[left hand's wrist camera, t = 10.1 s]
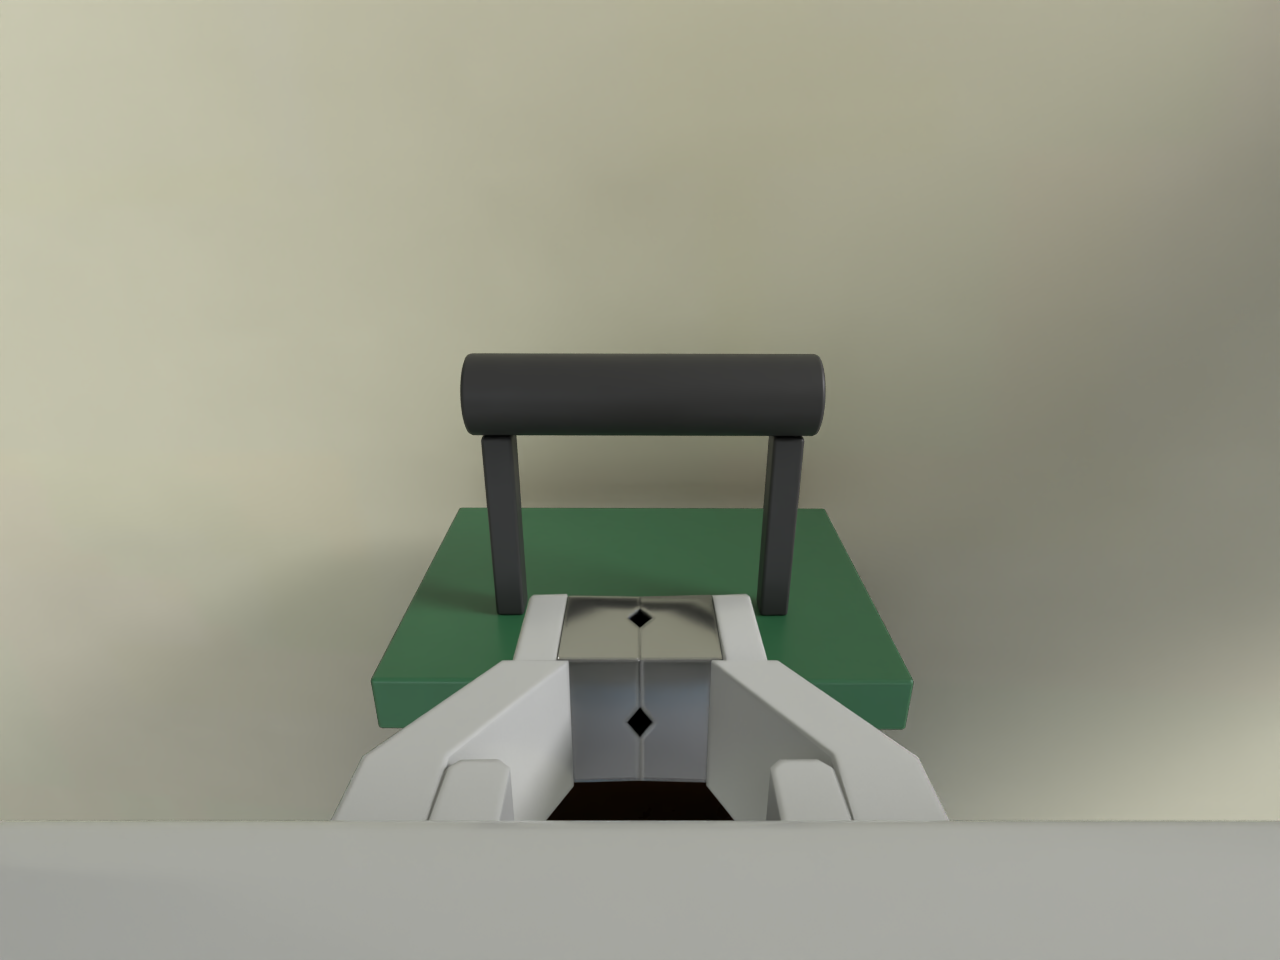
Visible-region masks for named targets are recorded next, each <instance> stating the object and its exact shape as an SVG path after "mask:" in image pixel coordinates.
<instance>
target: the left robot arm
mask: <svg viewBox="0 0 1280 960" xmlns="http://www.w3.org/2000/svg"><path fill="white" fill-rule="evenodd" d="M606 781H673V782H706V786H707V787H708V788H709V789H710V791H711V792H712V793H713V794H714V796H715V797H716V798H717V799H718V801H719V802H720V803H721V804H722V806H723V807H724V808H725V809H726V811H727V812H728V813H729V814H730V816H731V817H732V818H733V819H734V821H546V820H547V819H548V817H549V816H550V815H551V814H552V812H553V811H554V810H555V809H556V807H557V806H558V805H559V804H560V803H561V801H562V800H563V799H564V798H565V796H566V795H567V794H568V793H569V791H570V790H571V789H572V788H573V786H574V782H606ZM0 960H1280V821H949V819H948V817H947V815H946V813H945V811H944V809H943V806H942V804H941V802H940V800H939V798H938V796H937V794H936V792H935V790H934V788H933V786H932V784H931V782H930V780H929V778H928V776H927V774H926V772H925V770H924V768H923V766H922V764H921V761H920V759H919V757H917V756H916V755H914V754H913V753H911V752H910V751H909V750H907V749H906V748H904V747H903V746H901V745H900V744H898V743H897V742H895V741H894V740H893V739H891V738H890V737H888V736H887V735H885V734H884V733H882V732H881V731H879V730H878V729H877V728H875V727H874V726H872V725H871V724H869V723H868V722H866V721H865V720H864V719H862V718H861V717H859V716H858V715H856V714H855V713H853V712H852V711H850V710H849V709H848V708H846V707H845V706H843V705H842V704H840V703H839V702H837V701H836V700H834V699H833V698H832V697H830V696H829V695H827V694H826V693H824V692H823V691H821V690H820V689H819V688H817V687H816V686H814V685H813V684H811V683H810V682H808V681H807V680H805V679H804V678H803V677H801V676H800V675H798V674H797V673H795V672H794V671H792V670H791V669H789V668H788V667H787V666H785V665H784V664H782V663H781V662H779V661H778V660H767V657H766V653H765V650H764V646H763V643H762V639H761V635H760V632H759V628H758V624H757V621H756V617H755V614H754V610H753V606H752V603H751V599H750V596H748V595H747V594H729V595H683V596H642V597H640V596H615V595H569V596H568V595H567V594H541V595H533V596H531V597H530V598H529V602H528V606H527V609H526V613H525V617H524V620H523V624H522V628H521V631H520V635H519V639H518V642H517V646H516V650H515V653H514V657H513V660H502V661H501V662H499V663H498V664H496V665H495V666H493V667H492V668H491V669H489V670H488V671H486V672H485V673H483V674H482V675H480V676H479V677H477V678H476V679H474V680H473V681H472V682H470V683H469V684H467V685H466V686H464V687H463V688H461V689H460V690H458V691H457V692H456V693H454V694H453V695H451V696H450V697H448V698H447V699H445V700H444V701H442V702H441V703H439V704H438V705H437V706H435V707H434V708H432V709H431V710H429V711H428V712H426V713H425V714H423V715H422V716H421V717H419V718H418V719H416V720H415V721H413V722H412V723H410V724H409V725H407V726H406V727H404V728H403V729H402V730H400V731H399V732H397V733H396V734H394V735H393V736H391V737H390V738H388V739H387V740H385V741H384V742H383V743H381V744H380V745H378V746H377V747H375V748H374V749H372V750H371V751H369V752H368V753H367V754H365V755H364V756H362V758H361V760H360V762H359V764H358V766H357V768H356V770H355V772H354V774H353V776H352V778H351V780H350V782H349V784H348V786H347V788H346V790H345V793H344V795H343V797H342V799H341V801H340V803H339V805H338V807H337V809H336V811H335V813H334V815H333V817H332V819H331V821H218V820H159V821H0Z"/></svg>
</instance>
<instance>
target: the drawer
mask: <svg viewBox="0 0 1280 960" xmlns="http://www.w3.org/2000/svg"><path fill="white" fill-rule="evenodd" d="M460 397H461V409H462V416H463V420H464V424H465V427H466V429H467V431H468V432H469V433H470V434H472V435H483V437H482V439H481V444H482V455H483V466H484V478H485V489H486V500H487V508H460V509H459V511H458V513H457V514H456V516H455V518H454V520H453V522H452V524H451V526H450V528H449V530H448V532H447V534H446V536H445V538H444V540H443V541H442V543H441V545H440V547H439V549H438V551H437V553H436V555H435V557H434V559H433V561H432V563H431V565H430V567H429V568H428V570H427V572H426V574H425V576H424V578H423V580H422V582H421V584H420V586H419V588H418V590H417V592H416V594H415V595H414V597H413V599H412V601H411V603H410V605H409V607H408V609H407V611H406V613H405V615H404V617H403V619H402V621H401V622H400V624H399V626H398V628H397V630H396V632H395V634H394V636H393V638H392V640H391V642H390V644H389V646H388V648H387V649H386V651H385V653H384V655H383V657H382V659H381V661H380V663H379V665H378V667H377V669H376V671H375V673H374V675H373V676H372V679H371V685H372V690H373V696H374V701H375V707H376V712H377V718H378V724H379V727H381V728H404V727H406V726H407V725H409V724H410V723H412V722H413V721H415V720H416V719H418V718H419V717H421V716H422V715H423V714H425V713H426V712H428V711H429V710H431V709H432V708H434V707H435V706H437V705H438V704H439V703H441V702H442V701H444V700H445V699H447V698H448V697H450V696H451V695H453V694H454V693H456V692H457V691H458V690H460V689H461V688H463V687H464V686H466V685H467V684H469V683H470V682H472V681H473V680H474V679H476V678H477V677H479V676H480V675H482V674H483V673H485V672H486V671H488V670H489V669H491V668H492V667H493V666H495V665H496V664H498V663H499V662H501V661H502V660H513V657H514V653H515V650H516V646H517V642H518V639H519V635H520V631H521V628H522V624H523V620H524V617H525V613H526V609H527V606H528V602H529V598H530V597H531V596H533V595H541V594H567V595H568V596H569V595H615V596H640V597H642V596H683V595H729V594H747V595H748V596H750V599H751V603H752V606H753V610H754V614H755V617H756V621H757V624H758V628H759V632H760V635H761V639H762V643H763V646H764V650H765V653H766V657H767V660H778V661H779V662H781V663H782V664H784V665H785V666H787V667H788V668H789V669H791V670H792V671H794V672H795V673H797V674H798V675H800V676H801V677H803V678H804V679H805V680H807V681H808V682H810V683H811V684H813V685H814V686H816V687H817V688H819V689H820V690H821V691H823V692H824V693H826V694H827V695H829V696H830V697H832V698H833V699H834V700H836V701H837V702H839V703H840V704H842V705H843V706H845V707H846V708H848V709H849V710H850V711H852V712H853V713H855V714H856V715H858V716H859V717H861V718H862V719H864V720H865V721H866V722H868V723H869V724H871V725H872V726H874V727H875V728H877V729H878V730H902V729H904V728H905V726H906V720H907V715H908V710H909V704H910V699H911V693H912V688H913V679H912V677H911V675H910V673H909V672H908V670H907V668H906V666H905V664H904V662H903V660H902V658H901V656H900V654H899V652H898V650H897V648H896V646H895V644H894V643H893V641H892V639H891V637H890V635H889V633H888V631H887V629H886V627H885V625H884V623H883V621H882V619H881V617H880V616H879V614H878V612H877V610H876V608H875V606H874V604H873V602H872V600H871V598H870V596H869V594H868V592H867V590H866V589H865V587H864V585H863V583H862V581H861V579H860V577H859V575H858V573H857V571H856V569H855V567H854V565H853V563H852V561H851V560H850V558H849V556H848V554H847V552H846V550H845V548H844V546H843V544H842V542H841V540H840V538H839V536H838V534H837V533H836V531H835V529H834V527H833V525H832V523H831V521H830V519H829V517H828V515H827V513H826V511H825V510H824V509H798V500H799V490H800V479H801V469H802V459H803V448H804V439H803V437H802V436H813V435H815V434H817V433H818V431H819V429H820V426H821V423H822V420H823V415H824V408H825V374H824V368H823V365H822V361H821V359H820V357H819V356H817V355H815V354H494V353H472V354H469V355H467V356H466V358H465V360H464V363H463V367H462V373H461V384H460ZM516 435H657V436H769V443H768V456H767V469H766V482H765V495H764V508H763V509H750V508H521V496H520V482H519V468H518V453H517V439H516ZM546 821H734V819H733V818H732V817H731V816H730V814H729V813H728V812H727V811H726V809H725V808H724V807H723V806H722V804H721V803H720V802H719V801H718V799H717V798H716V797H715V796H714V794H713V793H712V792H711V791H710V789H709V788H708V787H707V786H706V782H673V781H606V782H574V786H573V788H572V789H571V790H570V791H569V793H568V794H567V795H566V796H565V798H564V799H563V800H562V801H561V803H560V804H559V805H558V806H557V807H556V809H555V810H554V811H553V812H552V814H551V815H550V816H549V817H548V819H547V820H546Z"/></svg>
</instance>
